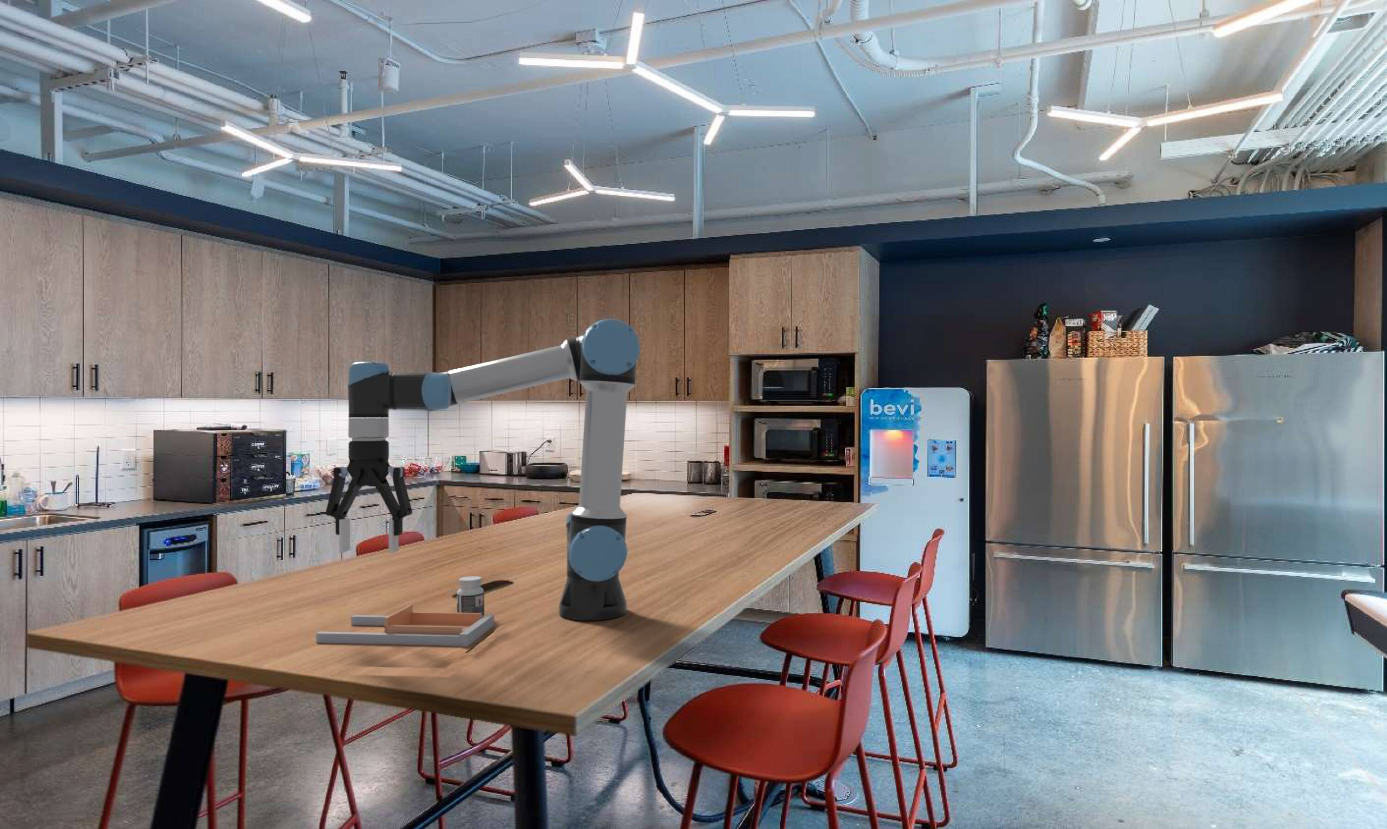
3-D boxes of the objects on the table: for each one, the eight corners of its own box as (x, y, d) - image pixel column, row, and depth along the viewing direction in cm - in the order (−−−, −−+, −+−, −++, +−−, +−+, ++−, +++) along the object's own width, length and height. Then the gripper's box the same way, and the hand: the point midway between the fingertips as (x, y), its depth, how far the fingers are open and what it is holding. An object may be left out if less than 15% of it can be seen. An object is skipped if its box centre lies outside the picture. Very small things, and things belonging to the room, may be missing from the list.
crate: (481, 627, 167) (481, 605, 167) (461, 642, 156) (461, 619, 156) (409, 626, 168) (409, 604, 168) (384, 641, 157) (384, 617, 157)
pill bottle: (490, 622, 176) (489, 576, 176) (472, 629, 171) (472, 581, 171) (469, 620, 179) (469, 574, 179) (451, 626, 173) (450, 579, 173)
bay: (493, 631, 169) (493, 614, 169) (467, 652, 154) (467, 634, 154) (354, 629, 171) (354, 612, 171) (315, 649, 156) (315, 631, 156)
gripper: (430, 438, 166) (430, 549, 166) (326, 439, 168) (326, 547, 168) (414, 440, 159) (414, 555, 159) (305, 440, 161) (305, 554, 161)
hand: (369, 551), depth 163 cm, fingers open, 9 cm apart
